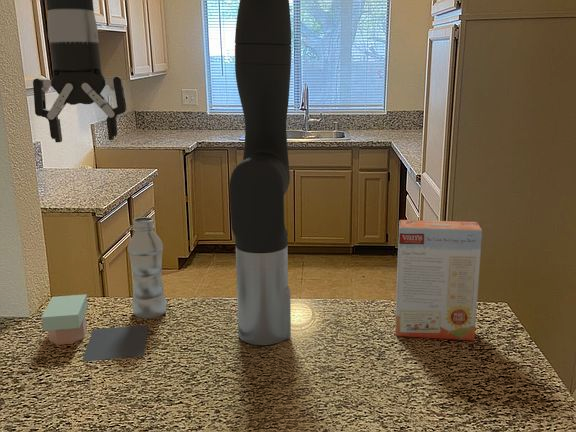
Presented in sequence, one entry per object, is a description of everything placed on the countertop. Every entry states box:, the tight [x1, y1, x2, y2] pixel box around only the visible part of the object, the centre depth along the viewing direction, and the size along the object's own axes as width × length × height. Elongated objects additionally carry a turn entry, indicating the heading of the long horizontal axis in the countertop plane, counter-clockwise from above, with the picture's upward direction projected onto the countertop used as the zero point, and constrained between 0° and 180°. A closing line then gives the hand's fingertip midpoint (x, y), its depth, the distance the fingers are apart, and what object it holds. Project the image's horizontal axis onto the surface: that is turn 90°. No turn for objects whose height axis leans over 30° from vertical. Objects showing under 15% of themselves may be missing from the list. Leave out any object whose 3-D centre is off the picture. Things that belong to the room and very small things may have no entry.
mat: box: [81, 324, 149, 363], centre depth 100 cm, size 10×12×1 cm
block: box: [40, 293, 89, 332], centre depth 101 cm, size 6×9×2 cm, turn 10°
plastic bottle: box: [127, 216, 168, 320], centre depth 109 cm, size 6×7×20 cm
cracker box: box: [395, 219, 483, 342], centre depth 102 cm, size 14×6×21 cm, turn 80°
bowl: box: [47, 315, 88, 346], centre depth 102 cm, size 6×6×4 cm
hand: (85, 140), depth 96 cm, fingers open, 8 cm apart
